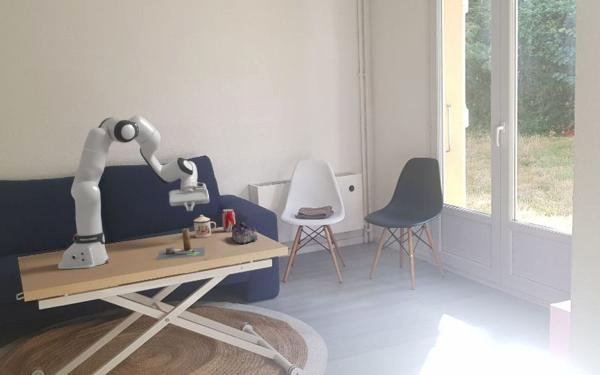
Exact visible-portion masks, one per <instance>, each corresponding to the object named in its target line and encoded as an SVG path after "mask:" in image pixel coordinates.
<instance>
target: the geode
mask: <svg viewBox="0 0 600 375" xmlns="http://www.w3.org/2000/svg"><path fill="white" fill-rule="evenodd" d="M257 232H258V231H257V229H256V228H255V227H253V226H251V225H247V224H246V223H244V221H243V220H241V221H240V222H238V221H236V222H235V224H234V225H233V226H232V232H231V239H232V240H233V241H235V243H239V244H242V245H244V244H247V243H251V242H253V241H258V233H257Z"/></svg>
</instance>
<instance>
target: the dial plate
mask: <svg viewBox="0 0 600 375" xmlns="http://www.w3.org/2000/svg"><path fill="white" fill-rule="evenodd" d="M177 250H184V248H180V249H179V248H178V249H177ZM191 250H196V252H195V253H191V252H175V253H173V254H166V250H159V252H158V253H157V256H156V258H155V261H163V260H172V259H182V258H183V259H185V258H193V257H194V258H195V257H204V256H205V253H206V252H205V251H206V247H205V246H202V247H201V246H200V247H191Z"/></svg>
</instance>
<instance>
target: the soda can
mask: <svg viewBox="0 0 600 375" xmlns="http://www.w3.org/2000/svg"><path fill="white" fill-rule="evenodd" d="M221 220H222V230H223V231H224V232H226V233H232V226H233V225H234V224H236V214H235V211H234V208H228V209H227V208H226V209H223V210H222V213H221Z"/></svg>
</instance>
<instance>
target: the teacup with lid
mask: <svg viewBox="0 0 600 375" xmlns="http://www.w3.org/2000/svg"><path fill="white" fill-rule="evenodd" d="M211 224H214V227H213V228H211ZM193 227H194V237H195V238H198V239H199V238H200V239H202V238H209V237H211V236H212V232H213V231H215V230H216V227H217V224H216V222H214V221H211V218H210V217H206V216H204V215H203V214H200V215H199V217H196V218H195V219H194V220H193Z"/></svg>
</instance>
